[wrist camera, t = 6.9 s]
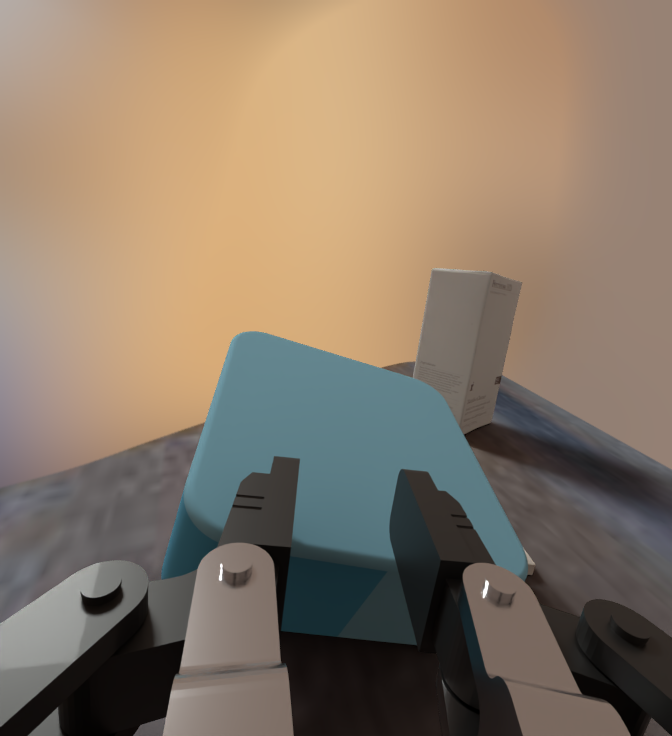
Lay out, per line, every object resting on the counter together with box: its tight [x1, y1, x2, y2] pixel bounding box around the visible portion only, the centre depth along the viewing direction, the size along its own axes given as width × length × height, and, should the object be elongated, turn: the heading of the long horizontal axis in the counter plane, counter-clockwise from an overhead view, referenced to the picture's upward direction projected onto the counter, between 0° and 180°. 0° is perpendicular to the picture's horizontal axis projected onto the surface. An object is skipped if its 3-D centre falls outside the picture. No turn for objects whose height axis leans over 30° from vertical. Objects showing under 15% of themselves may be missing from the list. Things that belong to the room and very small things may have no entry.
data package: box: [161, 332, 528, 645], centre depth 17 cm, size 12×4×12 cm
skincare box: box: [413, 268, 522, 434], centre depth 38 cm, size 8×6×15 cm
